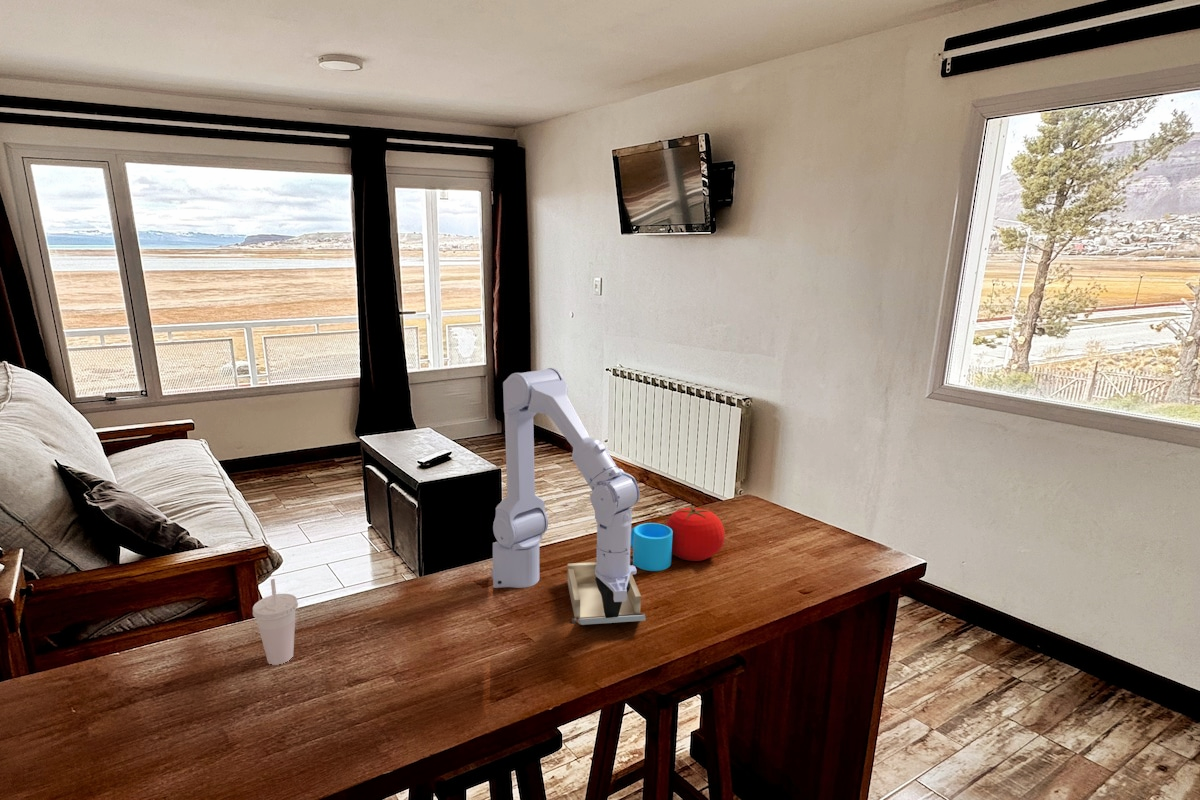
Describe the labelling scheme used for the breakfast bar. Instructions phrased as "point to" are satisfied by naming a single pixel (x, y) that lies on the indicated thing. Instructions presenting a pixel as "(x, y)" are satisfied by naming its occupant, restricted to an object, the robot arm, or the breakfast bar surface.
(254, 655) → the breakfast bar surface
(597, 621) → the panel
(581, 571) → the box
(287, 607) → the smoothie
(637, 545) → the mug
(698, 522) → the tomato
